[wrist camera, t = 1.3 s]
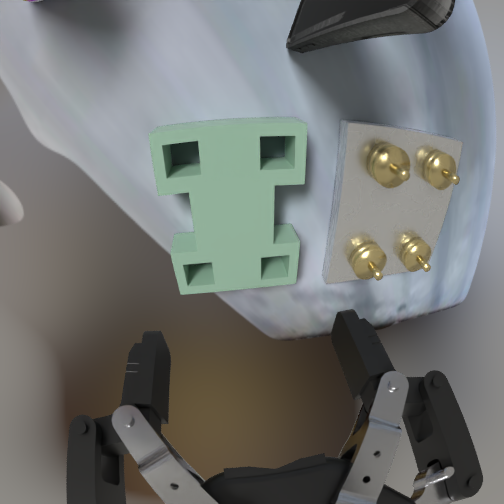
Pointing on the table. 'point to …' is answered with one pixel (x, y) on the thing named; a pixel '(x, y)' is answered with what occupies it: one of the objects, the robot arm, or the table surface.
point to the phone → (362, 20)
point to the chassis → (388, 200)
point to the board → (232, 202)
